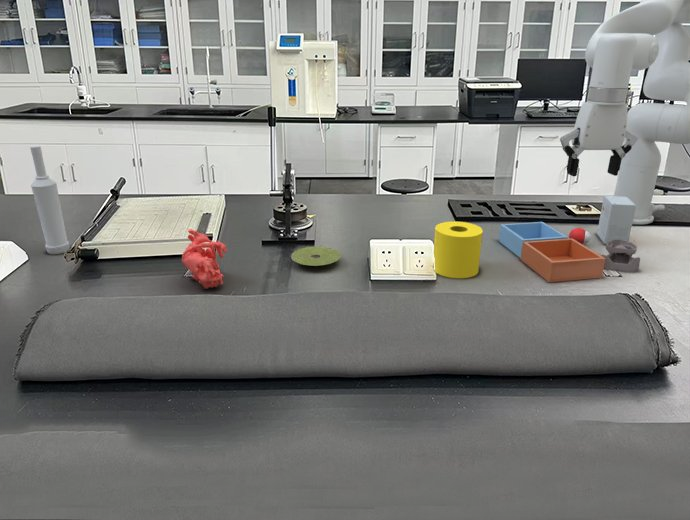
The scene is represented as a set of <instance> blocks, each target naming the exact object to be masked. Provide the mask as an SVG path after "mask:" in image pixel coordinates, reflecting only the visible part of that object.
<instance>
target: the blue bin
mask: <svg viewBox="0 0 690 520" xmlns="http://www.w3.org/2000/svg"><path fill="white" fill-rule="evenodd" d="M557 239H569V236H567V235H565V234H564V233H562V232H560V231H559V230H557V229H555V228H554V227H552V226H550V225H549V224H547V223H545V222H543V221H533V222H517V223H504V224H503V223H501V224H500V228H499V235H498V242H499V243H501V245H503V246H504V247H505V248H507V249H509V251H511V252H512V253H513V254H514V255H516V257H518V258H519V259H521V252H522V245H523V242H528V241H542V240H557Z"/></svg>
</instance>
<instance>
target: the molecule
mask: <svg viewBox="0 0 690 520" xmlns="http://www.w3.org/2000/svg"><path fill="white" fill-rule="evenodd" d="M570 238H572V239H574V240H576V241H577V242H579V243H581V244H582V245H584V244H587V243H589V242H590V241H591V238H592V236H591V233H590V232H589V231H587V230H586V229H584V228H582V227H575V228H572V229H571V230H570V232H569V234H568V239H570Z"/></svg>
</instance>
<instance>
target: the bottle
mask: <svg viewBox="0 0 690 520" xmlns="http://www.w3.org/2000/svg"><path fill="white" fill-rule="evenodd" d="M29 149H30V153H31V155H32V161H33V165H34V169H35V174H36V176H35V180H34V181H32V183H31V184H30V187H31V190H32V194H33V198H34V202H35V206H36V210H37V214H38V219H39V221H40V225H41V230H42V233H43V237H44V242H45V245H44V246H45V250H46V252H47V254H49V255H60V254H64V253H67V252H69V251H70V249H71V247H70V241H69V240H68V238H67V237H68V236H67V231H66V227H65V221H64V216H63V211H62V205H61V199H60V196H59V195H60V194H59V191H58V185H57V182H56V181H55V180H53V179H52V178H50V177H49V175H47V171H46V166H45V162H44V158H43V151H42V147H41V145H31V146H30V147H29ZM68 250H69V251H68Z"/></svg>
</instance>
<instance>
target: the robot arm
mask: <svg viewBox="0 0 690 520" xmlns="http://www.w3.org/2000/svg"><path fill="white" fill-rule="evenodd" d="M683 23H684V24H686V23H689V24H690V0H640V2H639V3H637V4H635V5H633V6H631V7H628V8H626V9H624V10H622V11H620V12H618V13H616V14H613V15H612V16H610V17H608V18H607V19H605V20H604V21H603V22H602V23H601V24H600V25H599V26H598V27H597V28H596V30H595V32H594V33H593V34H592V35H591V37H590V39H589V41H588V43H587V45H586V48H585V53H584V59H585V62H586V64H587V66H588V67H590V68H591V74H590V81H589V87H588V91H587V92H588V93H587V98H586V101H582V104H580V105H581V106H580V107H579V111H578V113H577V116H576V119H575V123H574V126H573V130H572V131H570V132H569V133H566V134H564V135H563V136H561V137H560V138H559V142H560V144H561V147H562V150H563V152H565V154H566V156H567V157H568V158H567V164H566V173H567V175H569V176H571V177H576V176H578V171H579V165H580V159H579V156H580V155H581V154H582V153H583V152H584V151H610V152H611V153H612V155H610V158H609V161H608V167H607V172H606V173H608V174H609V175H612V176H614V177H617V179H616V184H615V189H614V194H613V196H620V197H627V198H629V199H630V200H631V201H632V202H633V203H634V204H635V205H636V209H635V213H634V218H633V223H632V225H640V226H641V225H649V224H652V223H653V222H654V219H655V216H654V215H653V214H654V213H655V212H663V211H665V209H666V207H665V204H654V203H653V202H652V201H653V196H654V193H655V188H656V183H657V179H658V176H659V171H660V167H661V163H662V154H661V151H660V150H659V147H658V145H657V144H656V143H657V142H658V143H659V142H661V143H666V144H667V143H669V144H677V145H678V144H679V145H688V144H689V145H690V62H689V61H690V33H689V31H688V30H687V29H686V27H684V25H683ZM646 69H647V71H646V76H645V79H644V82H643V86H642V92H643V94H644V96H645V97H646V98H649V99H652V100H659V101H671V102H684V103H686V104H685V105H682V104H670V103H660V102H659V103H658V102H640V103H637V104H635V105H633V106H631V107H630V108H629V110H628V103H626V101H627V98H631V96H632V94H633V93H632V91H631V90H629V84H630V79H631V74H632V72H633V71H634V72H637V71H638V72H639V71H643V70H646ZM570 142H571V145H572V146H571V145H570Z"/></svg>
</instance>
